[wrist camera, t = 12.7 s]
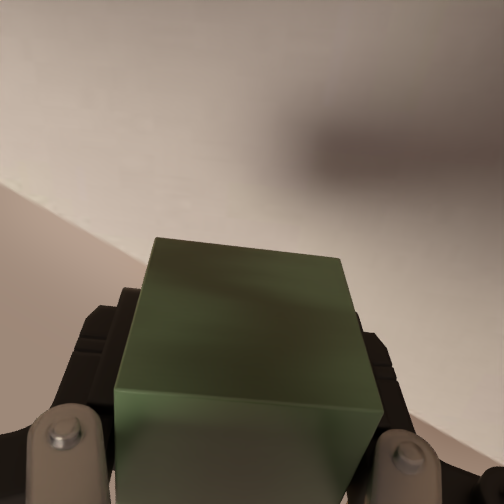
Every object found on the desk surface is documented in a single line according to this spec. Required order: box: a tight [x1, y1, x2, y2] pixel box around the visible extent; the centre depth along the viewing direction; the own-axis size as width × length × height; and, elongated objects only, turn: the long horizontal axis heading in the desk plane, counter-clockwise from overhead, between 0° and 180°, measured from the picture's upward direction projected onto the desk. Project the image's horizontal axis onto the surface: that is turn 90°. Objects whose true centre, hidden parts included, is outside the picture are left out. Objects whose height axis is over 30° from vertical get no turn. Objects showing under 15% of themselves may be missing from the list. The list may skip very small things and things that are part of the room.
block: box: [114, 237, 384, 504], centre depth 11 cm, size 5×5×5 cm
